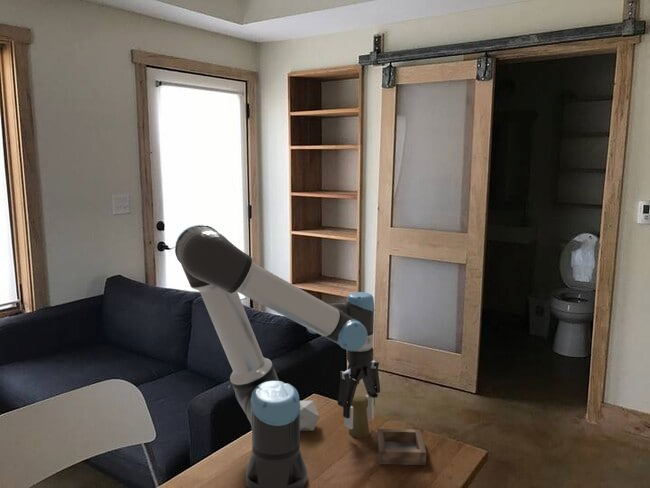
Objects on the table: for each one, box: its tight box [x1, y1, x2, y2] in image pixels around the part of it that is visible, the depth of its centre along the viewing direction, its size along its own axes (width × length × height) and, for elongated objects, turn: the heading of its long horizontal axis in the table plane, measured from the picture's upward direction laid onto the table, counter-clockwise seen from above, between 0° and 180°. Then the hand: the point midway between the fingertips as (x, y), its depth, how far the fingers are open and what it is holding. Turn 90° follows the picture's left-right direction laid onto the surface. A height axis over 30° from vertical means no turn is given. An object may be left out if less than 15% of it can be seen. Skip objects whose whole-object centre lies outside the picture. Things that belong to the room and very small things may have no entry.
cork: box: [348, 394, 370, 439], centre depth 155 cm, size 6×6×11 cm
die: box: [300, 400, 320, 432], centre depth 158 cm, size 8×9×10 cm
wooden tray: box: [376, 428, 427, 466], centre depth 146 cm, size 12×12×4 cm
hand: (359, 422), depth 156 cm, fingers open, 8 cm apart
